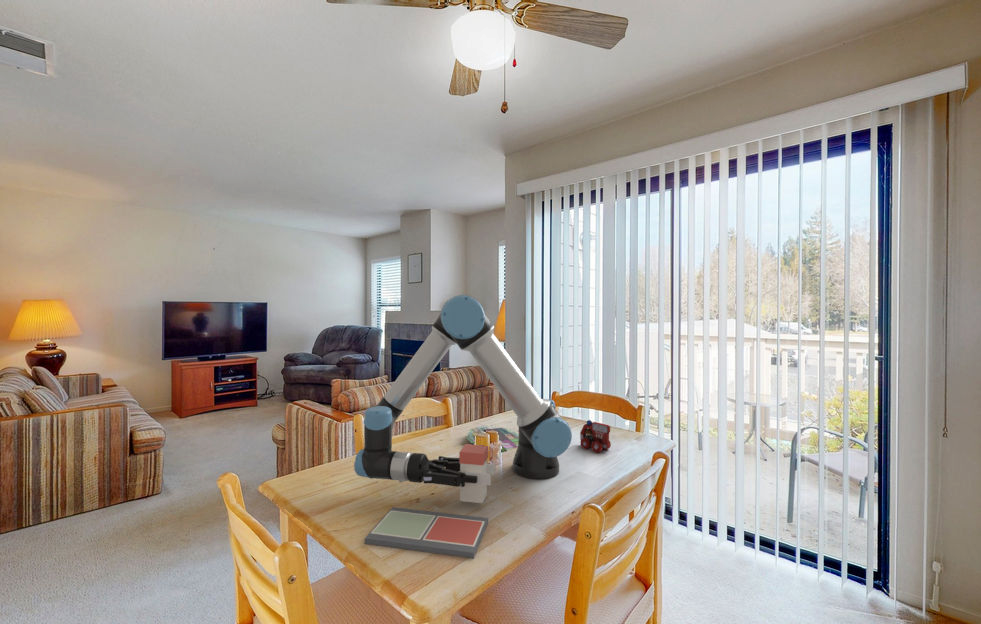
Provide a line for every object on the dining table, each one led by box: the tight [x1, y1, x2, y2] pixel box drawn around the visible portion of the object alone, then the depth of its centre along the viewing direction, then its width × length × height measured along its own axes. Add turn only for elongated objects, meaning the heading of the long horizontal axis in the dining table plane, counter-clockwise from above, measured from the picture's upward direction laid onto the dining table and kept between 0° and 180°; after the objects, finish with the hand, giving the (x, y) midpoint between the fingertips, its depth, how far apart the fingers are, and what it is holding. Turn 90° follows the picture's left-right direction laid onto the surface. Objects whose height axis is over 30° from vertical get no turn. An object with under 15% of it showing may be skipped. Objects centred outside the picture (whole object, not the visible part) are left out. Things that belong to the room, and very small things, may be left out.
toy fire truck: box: [579, 419, 611, 454], centre depth 160 cm, size 7×12×10 cm, turn 41°
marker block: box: [458, 443, 489, 504], centre depth 114 cm, size 6×6×13 cm
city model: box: [465, 425, 519, 453], centre depth 166 cm, size 25×23×6 cm
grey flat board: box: [364, 506, 489, 559], centre depth 100 cm, size 25×15×1 cm, turn 79°
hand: (492, 474), depth 113 cm, fingers closed on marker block, 6 cm apart
